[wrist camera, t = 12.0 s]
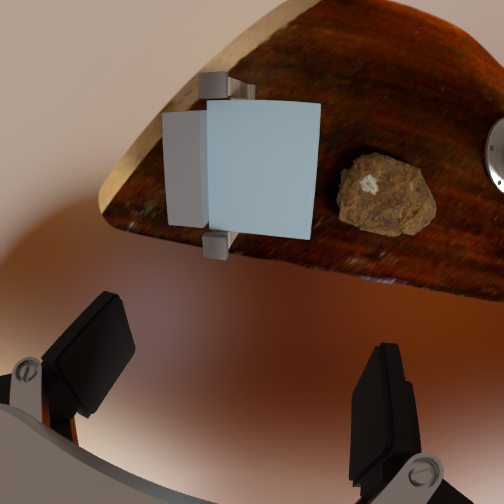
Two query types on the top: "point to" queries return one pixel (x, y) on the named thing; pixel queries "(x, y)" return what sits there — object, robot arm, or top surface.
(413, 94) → the top surface
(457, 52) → the top surface
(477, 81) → the top surface
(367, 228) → the decorative rock
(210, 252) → the trapdoor stand
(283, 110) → the trapdoor
